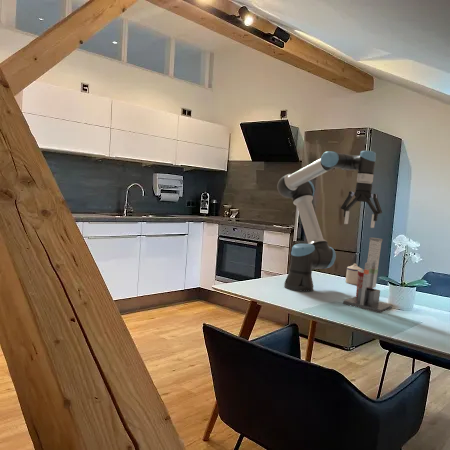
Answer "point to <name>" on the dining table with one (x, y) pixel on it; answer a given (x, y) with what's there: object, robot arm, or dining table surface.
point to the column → (373, 260)
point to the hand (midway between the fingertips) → (358, 225)
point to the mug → (360, 280)
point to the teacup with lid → (352, 274)
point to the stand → (368, 296)
